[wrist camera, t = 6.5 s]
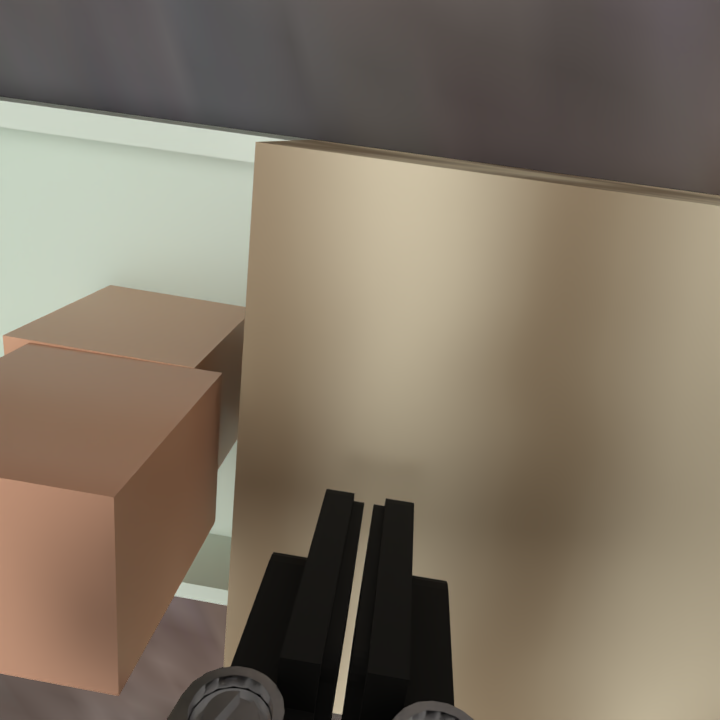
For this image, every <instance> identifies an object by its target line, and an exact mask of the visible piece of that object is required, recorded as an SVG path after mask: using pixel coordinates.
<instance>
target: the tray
mask: <svg viewBox="0 0 720 720" xmlns="http://www.w3.org/2000/svg"><path fill="white" fill-rule="evenodd" d="M290 140H312V139H305V138H298V137H290V136H283V135H276V134H269V133H261V132H254V131H247V130H240V129H232V128H225V127H218V126H211V125H203V124H196V123H189V122H181V121H174V120H167V119H160V118H152V117H145V116H138V115H131V114H123V113H116V112H109V111H102V110H94V109H87V108H80V107H73V106H65V105H58V104H51V103H43V102H36V101H29V100H22V99H14V98H7V97H0V357H2V356H4V346H3V335H5V334H7V333H9V332H11V331H13V330H15V329H17V328H20V327H22V326H24V325H26V324H28V323H30V322H32V321H35V320H37V319H39V318H41V317H43V316H45V315H47V314H49V313H52V312H54V311H56V310H58V309H60V308H62V307H64V306H66V305H69V304H71V303H73V302H75V301H77V300H79V299H81V298H84V297H86V296H88V295H90V294H92V293H94V292H96V291H98V290H101V289H103V288H105V287H107V286H109V285H114V286H120V287H126V288H132V289H138V290H144V291H150V292H157V293H163V294H169V295H175V296H181V297H187V298H194V299H200V300H206V301H212V302H218V303H224V304H230V305H237V306H243V307H246V291H247V274H248V258H249V242H250V225H251V209H252V192H253V176H254V160H255V143H256V142H264V141H290ZM236 455H237V441H236V442H235V444H234V445H233V447H232V448H231V450H230V452H229V453H228V455H227V456H226V458H225V460H224V461H223V463H222V464H221V466H220V467H219V469H218V474H217V496H216V517H215V523H214V525H213V527H212V528H211V530H210V532H209V534H208V536H207V537H206V539H205V541H204V543H203V545H202V547H201V548H200V550H199V552H198V554H197V556H196V557H195V559H194V561H193V563H192V565H191V566H190V568H189V570H188V572H187V574H186V575H185V577H184V579H183V581H182V583H181V584H180V586H179V588H178V590H177V592H176V593H175V595H174V596H178V597H183V598H189V599H194V600H199V601H205V602H210V603H216V604H221V605H227V602H228V586H229V569H230V553H231V537H232V520H233V504H234V488H235V471H236Z"/></svg>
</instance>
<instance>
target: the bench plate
mask: <svg viewBox="0 0 720 720" xmlns="http://www.w3.org/2000/svg"><path fill="white" fill-rule="evenodd" d="M326 489H332V490H338V491H344V492H350V493H355V495H354V501H357V502H364V510H363V517H362V523H361V530H360V537H359V544H358V550H357V557H356V564H355V571H354V577H353V584H352V591H351V598H350V604H349V611H348V618H347V624H346V631H345V637H344V643H343V650H342V656H341V662H340V668H339V675H338V681H337V687H336V693H335V700H334V706H333V712H332V713H337V714H342V712H343V705H344V698H345V691H346V684H347V677H348V670H349V663H350V656H351V649H352V642H353V635H354V628H355V621H356V615H357V608H358V602H359V595H360V589H361V582H362V576H363V569H364V563H365V556H366V550H367V543H368V537H369V530H370V524H371V518H372V511H373V505H374V504H376V505H382V506H384V505H385V500H386V498H387V499H393V500H400V501H406V502H412V503H414V531H413V567H412V575H414V576H420V577H426V578H432V579H438V580H443V581H447V583H448V592H449V611H450V630H451V649H452V668H453V687H454V706H455V707H456V708H458V709H460V710H463V711H464V712H465V713H466V714H468V715H469V716H470V717H471V718H473V719H474V720H720V196H719V195H712V194H704V193H697V192H690V191H683V190H675V189H668V188H661V187H654V186H646V185H639V184H632V183H625V182H617V181H610V180H603V179H595V178H588V177H581V176H574V175H566V174H559V173H552V172H545V171H537V170H530V169H523V168H516V167H508V166H501V165H494V164H487V163H479V162H472V161H465V160H457V159H450V158H443V157H436V156H428V155H421V154H414V153H407V152H399V151H392V150H385V149H378V148H370V147H363V146H356V145H349V144H341V143H334V142H327V141H319V140H290V141H264V142H256V143H255V160H254V176H253V192H252V209H251V225H250V242H249V258H248V274H247V291H246V307H245V324H244V340H243V356H242V373H241V389H240V406H239V422H238V438H237V455H236V471H235V488H234V504H233V520H232V537H231V553H230V569H229V586H228V602H227V619H226V635H225V651H224V667H230V666H231V663H232V661H233V658H234V655H235V653H236V650H237V647H238V644H239V642H240V639H241V636H242V633H243V631H244V628H245V625H246V623H247V620H248V617H249V614H250V612H251V609H252V606H253V603H254V601H255V598H256V595H257V593H258V590H259V587H260V584H261V582H262V579H263V576H264V573H265V571H266V568H267V565H268V562H269V560H270V557H271V555H272V554H273V552H277V553H283V554H289V555H295V556H301V557H308V553H309V550H310V546H311V542H312V539H313V535H314V532H315V528H316V524H317V521H318V517H319V514H320V510H321V507H322V503H323V499H324V496H325V492H326Z"/></svg>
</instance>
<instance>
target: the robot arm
mask: <svg viewBox="0 0 720 720" xmlns="http://www.w3.org/2000/svg"><path fill="white" fill-rule="evenodd" d="M354 495H355V493H350V492H344V491H338V490H332V489H326V492H325V496H324V499H323V503H322V507H321V510H320V514H319V517H318V521H317V524H316V528H315V532H314V535H313V539H312V542H311V546H310V550H309V553H308V557H301V556H295V555H289V554H283V553H277V552H273V554H272V555H271V557H270V560H269V562H268V565H267V568H266V571H265V573H264V576H263V579H262V582H261V584H260V587H259V590H258V593H257V595H256V598H255V601H254V603H253V606H252V609H251V612H250V614H249V617H248V620H247V623H246V625H245V628H244V631H243V633H242V636H241V639H240V642H239V644H238V647H237V650H236V653H235V655H234V658H233V661H232V663H231V666H230V667H222V668H219V669H216V670H213V671H210V672H208V673H205V674H204V675H203V676H201V677H200V678H198V679H197V680H195V681H194V682H192V684H191V685H190V686H189V687H188V688H187V690H186V691H185V692H184V693H183V694H182V696H181V697H180V699H179V701H178V702H177V704H176V705H175V707H174V709H173V710H172V712H171V713H170V715H169V717H168V718H167V720H331V718H332V712H333V706H334V700H335V693H336V687H337V681H338V675H339V668H340V662H341V656H342V650H343V643H344V637H345V631H346V624H347V618H348V611H349V604H350V598H351V591H352V584H353V577H354V571H355V564H356V557H357V550H358V544H359V537H360V530H361V523H362V517H363V510H364V502H357V501H354ZM413 531H414V503H412V502H406V501H400V500H393V499H387V498H386V500H385V505H384V506H382V505H376V504H374V505H373V511H372V518H371V524H370V530H369V537H368V543H367V550H366V556H365V563H364V569H363V576H362V582H361V589H360V595H359V602H358V608H357V615H356V621H355V628H354V635H353V642H352V649H351V656H350V663H349V670H348V677H347V684H346V691H345V698H344V705H343V712H342V719H341V720H474V719H473V718H471V717H470V716H469V715H468V714H466V713H465V712H464V711H463V710H460V709H458V708H456V707H455V706H454V687H453V668H452V649H451V630H450V611H449V592H448V583H447V581H443V580H438V579H432V578H426V577H420V576H414V575H412V567H413Z"/></svg>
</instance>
